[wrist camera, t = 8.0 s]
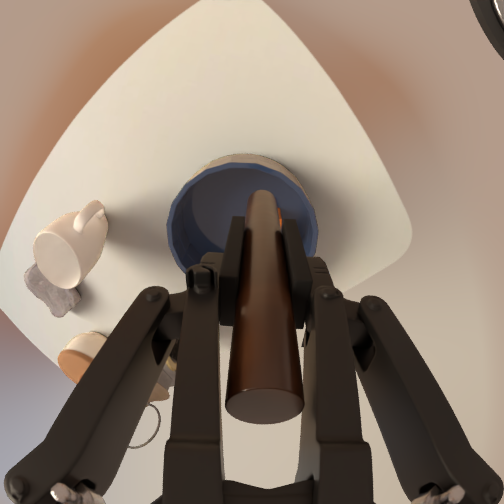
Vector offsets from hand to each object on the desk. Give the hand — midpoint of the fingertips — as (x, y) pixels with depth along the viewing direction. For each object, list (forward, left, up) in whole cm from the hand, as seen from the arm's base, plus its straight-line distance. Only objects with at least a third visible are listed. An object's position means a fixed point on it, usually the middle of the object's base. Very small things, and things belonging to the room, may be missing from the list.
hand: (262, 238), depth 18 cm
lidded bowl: (+32, +35, -19) cm, 51 cm away
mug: (+23, +6, -19) cm, 31 cm away
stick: (0, 0, -6) cm, 6 cm away
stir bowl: (+2, +6, -19) cm, 20 cm away
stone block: (+37, +19, -19) cm, 46 cm away
